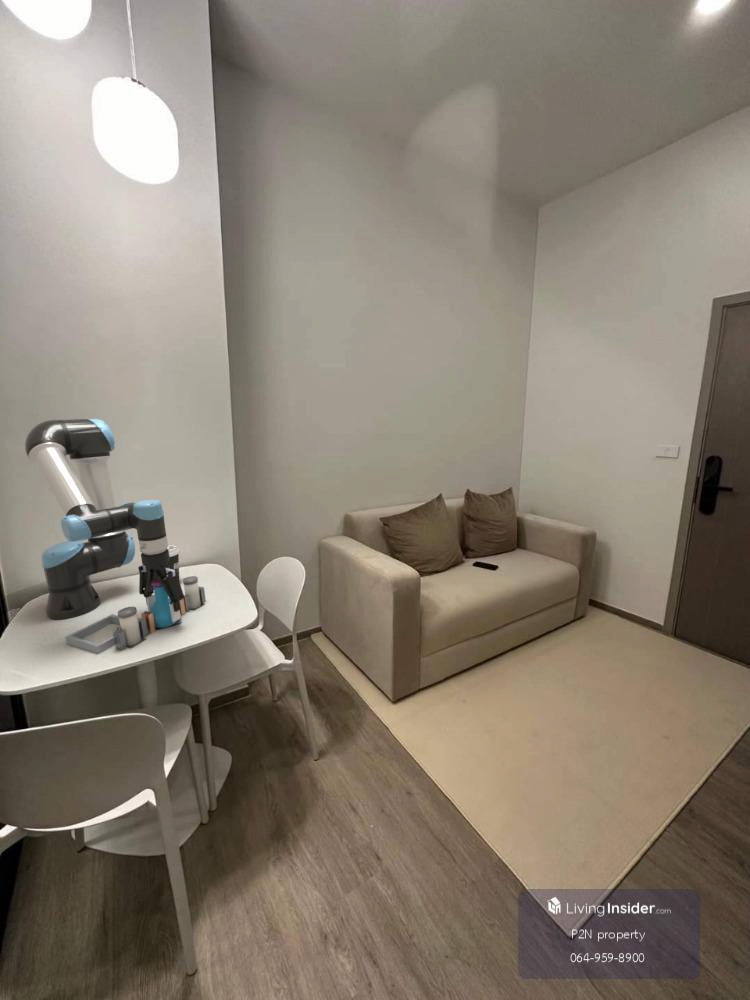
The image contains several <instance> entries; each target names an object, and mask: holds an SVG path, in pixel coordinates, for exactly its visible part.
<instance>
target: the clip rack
mask: <svg viewBox="0 0 750 1000" xmlns="http://www.w3.org/2000/svg"><path fill="white" fill-rule="evenodd" d="M198 587H199V595H200V602H201V605H200V606H199V607H197V608H194V609H190V604H189V597H188V596H186V595H185V594H184V599H182V600H180V601H179V602H180V616H182V617H183V616H184V615H185V614H186V613H188V612H190V611H196V610H198V609H200V608H202V607H203V606H204V605H206V603H205V602H206V601H207V600H206V593H205V587H202V586H198ZM140 614H141V617H139V618H138V623H139V629H140V635H141V641H140V642H139V643H137V644H135V645H132V646H127V645H126V640H125V634H124V631H122V630H121V629H116V630H114V631H113V632H112V635H113V636H114V640H115V645H114V646H115V649H116V650H119V651H124V650H125V649H127V648H129V649H132V648H135V647H136V646H138V645H139V644H141V643H143V642H145V641H146V640H148V638H146V637H147V636H149V634H151V635H152V634H153V633H155V632H156V626H155V624H154V618H153V613H151V612H148V610H147V611H146V610H145V611H143V612H141V613H140Z"/></svg>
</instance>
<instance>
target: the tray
mask: <svg viewBox="0 0 750 1000" xmlns="http://www.w3.org/2000/svg"><path fill="white" fill-rule="evenodd" d="M110 624H116V625H120V620H119V617H118V614H117V615H116V614H113V613H111V614H110V615H107V616H106V617H103V618H102V619H99V620H97V621H95V622H93V623H91V624H89V625H87V626H85V627H83V628H81V629H79V630H77V631H75V632H73V633H70V634H69V635H67V636H65V641H66V644H67V645H69V646H71V647H76V648H79V649H82V650H85V651H89V652H93V653H96V654H100V655H101V653H103V652H104V651H107V650H108V649H110V648H112V647H113V646H115V640H114V635H113V636H111V637H109V638H107V639H106V640H103V641H101V642H100V643H98V642H93V641H90V640H86V639H83V638H85V637H87V636H89V635H91V634H92V633H94V632H97V631H99V630H101V629H103V628H106V626H108V625H110Z"/></svg>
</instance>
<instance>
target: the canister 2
mask: <svg viewBox="0 0 750 1000" xmlns="http://www.w3.org/2000/svg"><path fill="white" fill-rule="evenodd" d="M182 584H183V590H184V595H186V596H188V597H189V604H190V609H194V608H197V607H199V606H200V605H201V602H200V595H199V587H200V586H199V578H198V576H196V575H194V576H187V577H185V578H183V579H182Z"/></svg>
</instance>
